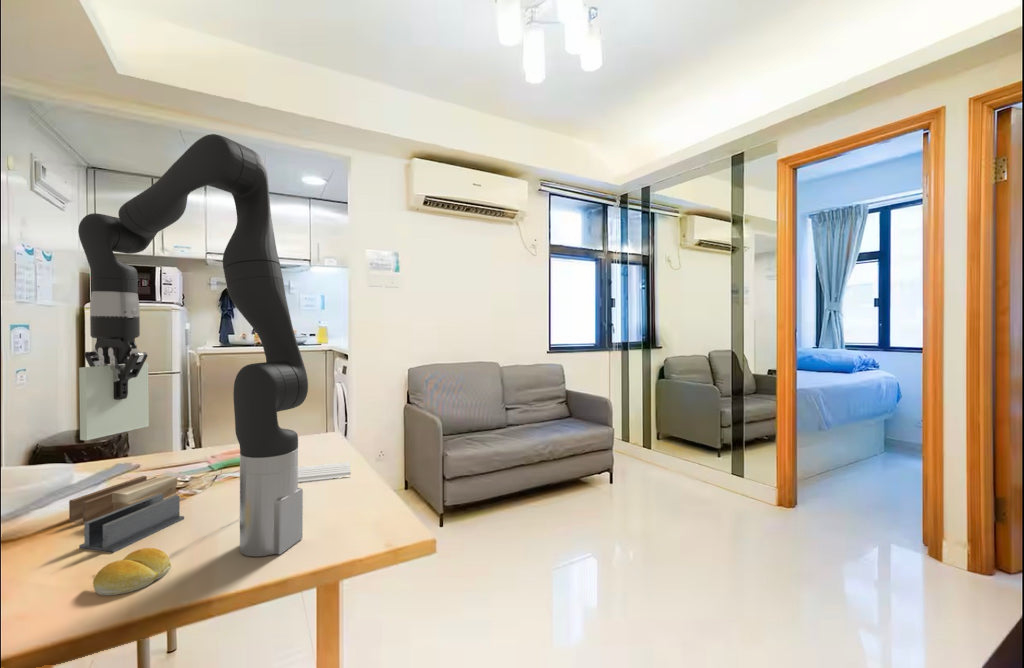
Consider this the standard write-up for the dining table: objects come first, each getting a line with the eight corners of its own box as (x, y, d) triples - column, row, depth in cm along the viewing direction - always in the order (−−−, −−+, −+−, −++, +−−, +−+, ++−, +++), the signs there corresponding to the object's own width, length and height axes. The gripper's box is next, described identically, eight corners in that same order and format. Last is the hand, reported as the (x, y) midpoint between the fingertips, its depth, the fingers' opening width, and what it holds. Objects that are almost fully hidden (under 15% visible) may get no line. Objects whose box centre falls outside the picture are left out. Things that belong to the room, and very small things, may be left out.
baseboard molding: (350, 481, 113) (349, 467, 124) (351, 470, 113) (349, 457, 124) (208, 497, 102) (221, 480, 113) (208, 484, 102) (221, 468, 113)
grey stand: (184, 526, 86) (184, 496, 86) (113, 561, 73) (112, 526, 73) (154, 522, 87) (154, 493, 87) (79, 556, 74) (79, 522, 74)
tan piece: (178, 501, 94) (178, 476, 94) (128, 522, 84) (128, 494, 84) (162, 499, 95) (161, 475, 95) (111, 520, 85) (111, 492, 85)
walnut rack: (186, 504, 96) (186, 480, 96) (118, 535, 82) (118, 506, 82) (141, 500, 98) (141, 475, 98) (67, 528, 84) (67, 500, 84)
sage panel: (148, 426, 96) (148, 362, 96) (86, 440, 84) (85, 367, 84) (142, 425, 96) (142, 362, 96) (80, 439, 84) (79, 367, 84)
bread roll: (79, 593, 65) (79, 567, 65) (143, 562, 74) (143, 538, 74) (121, 603, 63) (121, 575, 63) (182, 569, 72) (182, 545, 71)
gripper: (67, 314, 87) (68, 400, 88) (123, 314, 85) (124, 403, 85) (108, 315, 95) (109, 395, 95) (161, 315, 92) (161, 397, 93)
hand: (116, 398), depth 90 cm, fingers closed on sage panel, 1 cm apart
